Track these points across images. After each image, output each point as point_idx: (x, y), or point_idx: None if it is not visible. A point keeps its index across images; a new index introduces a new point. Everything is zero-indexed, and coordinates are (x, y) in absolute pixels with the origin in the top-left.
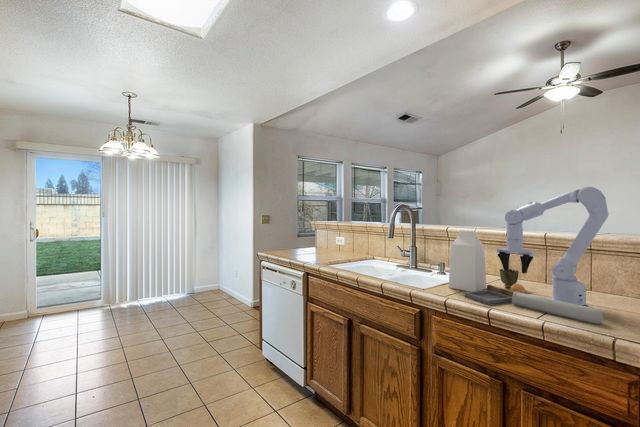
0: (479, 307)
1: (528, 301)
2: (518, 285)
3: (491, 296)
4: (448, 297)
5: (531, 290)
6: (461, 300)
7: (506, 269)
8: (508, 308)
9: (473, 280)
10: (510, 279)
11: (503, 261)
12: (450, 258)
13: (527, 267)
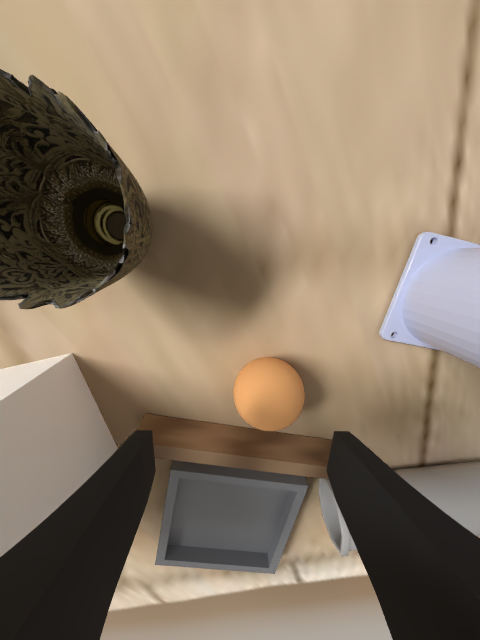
0: (268, 581)
1: None
2: (286, 425)
3: (221, 491)
4: (140, 581)
5: (237, 172)
6: (189, 574)
7: (151, 462)
8: (325, 532)
9: None
10: (130, 270)
11: (98, 637)
12: None
13: (397, 487)
